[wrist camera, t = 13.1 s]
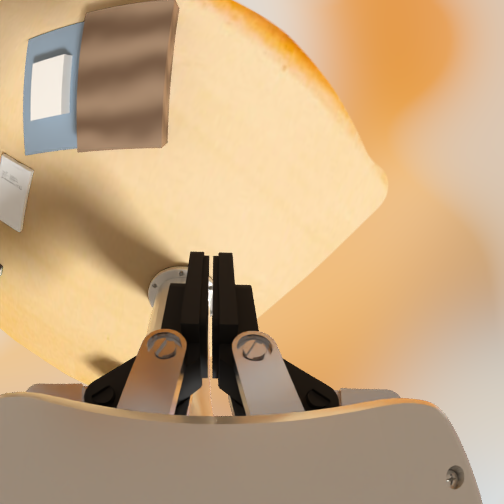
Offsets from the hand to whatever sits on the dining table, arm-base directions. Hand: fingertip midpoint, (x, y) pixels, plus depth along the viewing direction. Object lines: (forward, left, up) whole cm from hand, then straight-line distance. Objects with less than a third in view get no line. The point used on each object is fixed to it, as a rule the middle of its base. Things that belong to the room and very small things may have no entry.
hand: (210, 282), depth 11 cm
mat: (+11, +26, -29) cm, 40 cm away
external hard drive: (-5, +37, -30) cm, 48 cm away
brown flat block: (+11, +13, -29) cm, 34 cm away
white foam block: (+11, +25, -26) cm, 38 cm away
